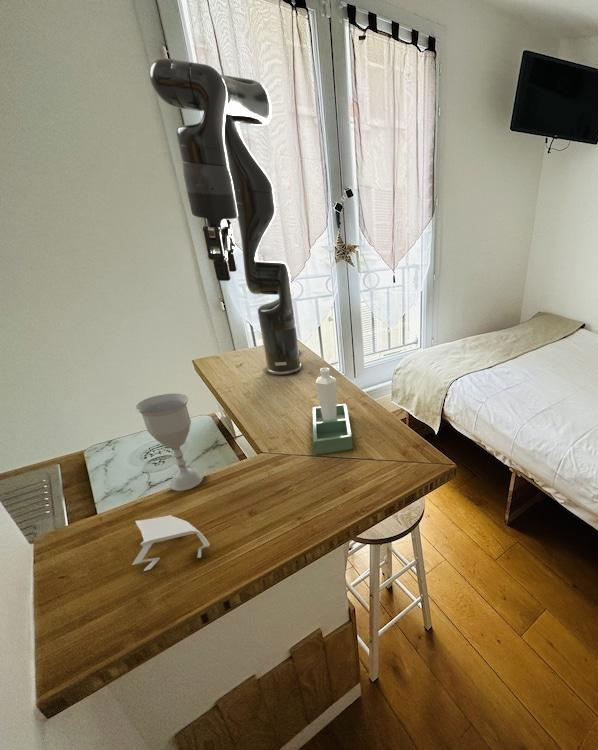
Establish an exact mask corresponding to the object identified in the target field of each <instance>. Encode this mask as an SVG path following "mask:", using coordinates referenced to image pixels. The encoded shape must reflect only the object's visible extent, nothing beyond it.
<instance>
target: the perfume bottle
mask: <svg viewBox="0 0 598 750" xmlns="http://www.w3.org/2000/svg"><path fill="white" fill-rule="evenodd" d="M319 372H320V376H318V377H317V378H316V380H315V386H316V387H315V388H316V392H317V397H318V401H319V407H321V412H322V417H323V421H329V420H337V415H336V405H337V378H336V377H334V376H332V375H331V374H330V368H329V367H321V368H320V369H319Z"/></svg>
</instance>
